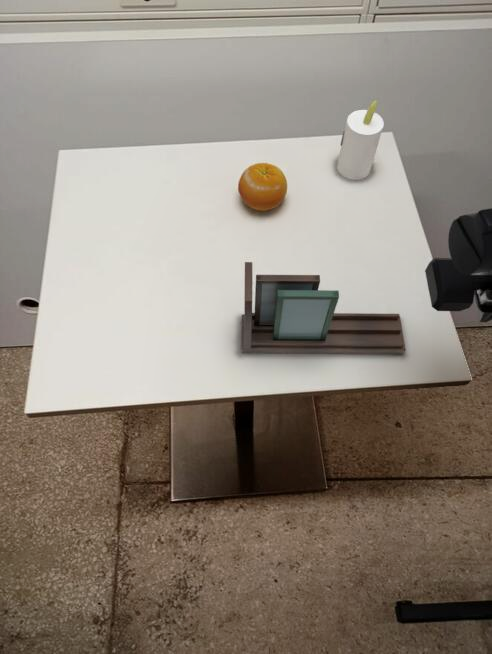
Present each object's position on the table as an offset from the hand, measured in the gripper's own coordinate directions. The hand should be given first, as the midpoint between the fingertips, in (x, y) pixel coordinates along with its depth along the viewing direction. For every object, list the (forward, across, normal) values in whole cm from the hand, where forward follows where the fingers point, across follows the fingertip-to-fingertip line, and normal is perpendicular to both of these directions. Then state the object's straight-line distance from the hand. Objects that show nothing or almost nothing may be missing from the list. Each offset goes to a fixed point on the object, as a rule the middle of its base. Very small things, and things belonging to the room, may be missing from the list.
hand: (481, 319), depth 65 cm
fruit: (+13, -28, +32) cm, 44 cm away
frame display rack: (+13, -19, +4) cm, 23 cm away
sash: (+11, -23, +3) cm, 26 cm away
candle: (+13, -10, +40) cm, 44 cm away
